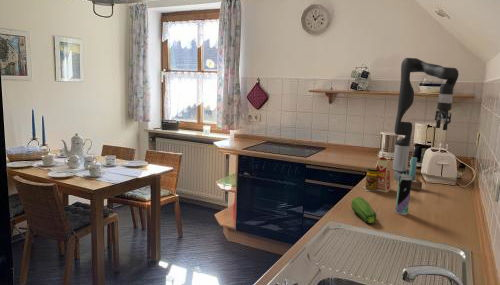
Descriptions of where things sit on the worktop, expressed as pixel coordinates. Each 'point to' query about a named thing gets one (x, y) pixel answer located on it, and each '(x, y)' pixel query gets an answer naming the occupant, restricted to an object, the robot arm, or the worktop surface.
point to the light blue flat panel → (413, 168)
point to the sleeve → (397, 174)
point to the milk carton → (383, 174)
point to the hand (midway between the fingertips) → (441, 129)
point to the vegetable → (363, 209)
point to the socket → (416, 185)
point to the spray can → (403, 193)
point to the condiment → (371, 179)
